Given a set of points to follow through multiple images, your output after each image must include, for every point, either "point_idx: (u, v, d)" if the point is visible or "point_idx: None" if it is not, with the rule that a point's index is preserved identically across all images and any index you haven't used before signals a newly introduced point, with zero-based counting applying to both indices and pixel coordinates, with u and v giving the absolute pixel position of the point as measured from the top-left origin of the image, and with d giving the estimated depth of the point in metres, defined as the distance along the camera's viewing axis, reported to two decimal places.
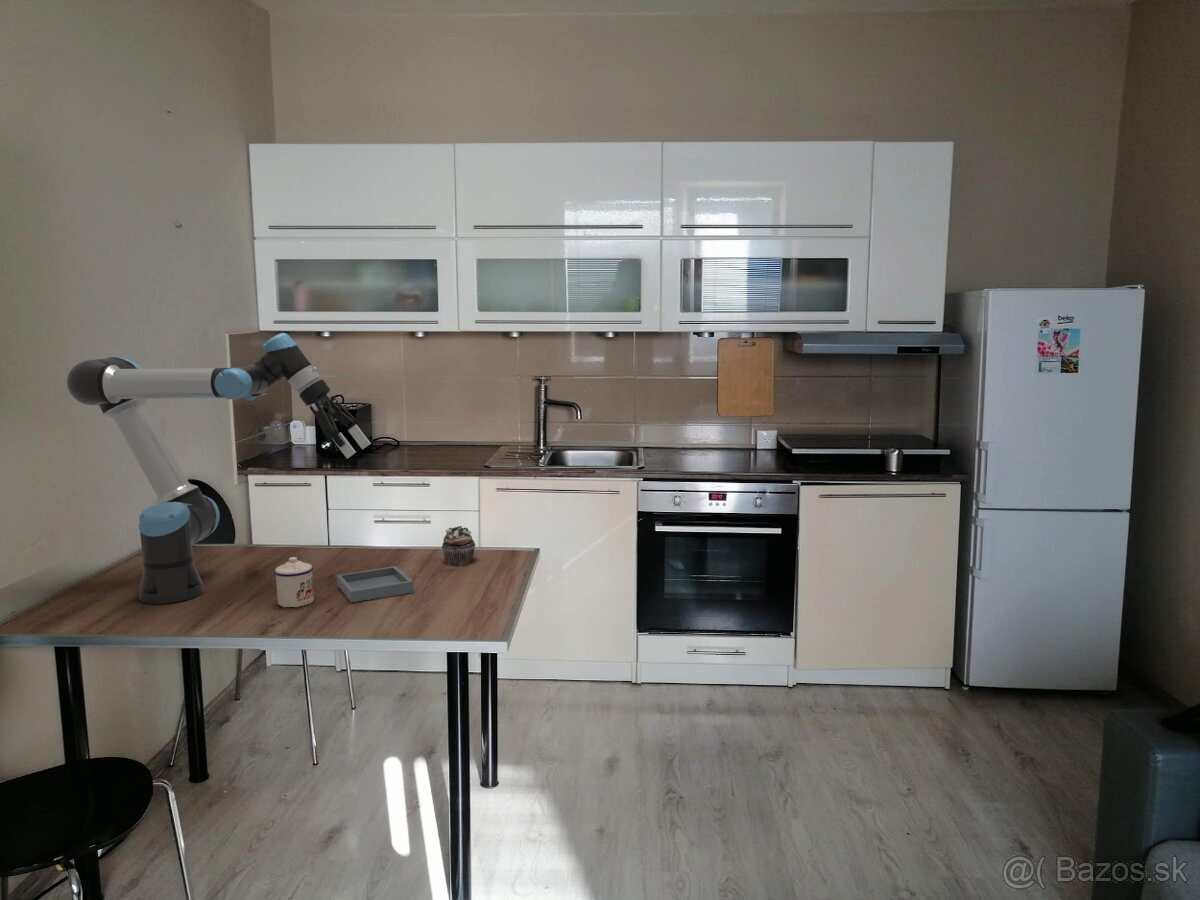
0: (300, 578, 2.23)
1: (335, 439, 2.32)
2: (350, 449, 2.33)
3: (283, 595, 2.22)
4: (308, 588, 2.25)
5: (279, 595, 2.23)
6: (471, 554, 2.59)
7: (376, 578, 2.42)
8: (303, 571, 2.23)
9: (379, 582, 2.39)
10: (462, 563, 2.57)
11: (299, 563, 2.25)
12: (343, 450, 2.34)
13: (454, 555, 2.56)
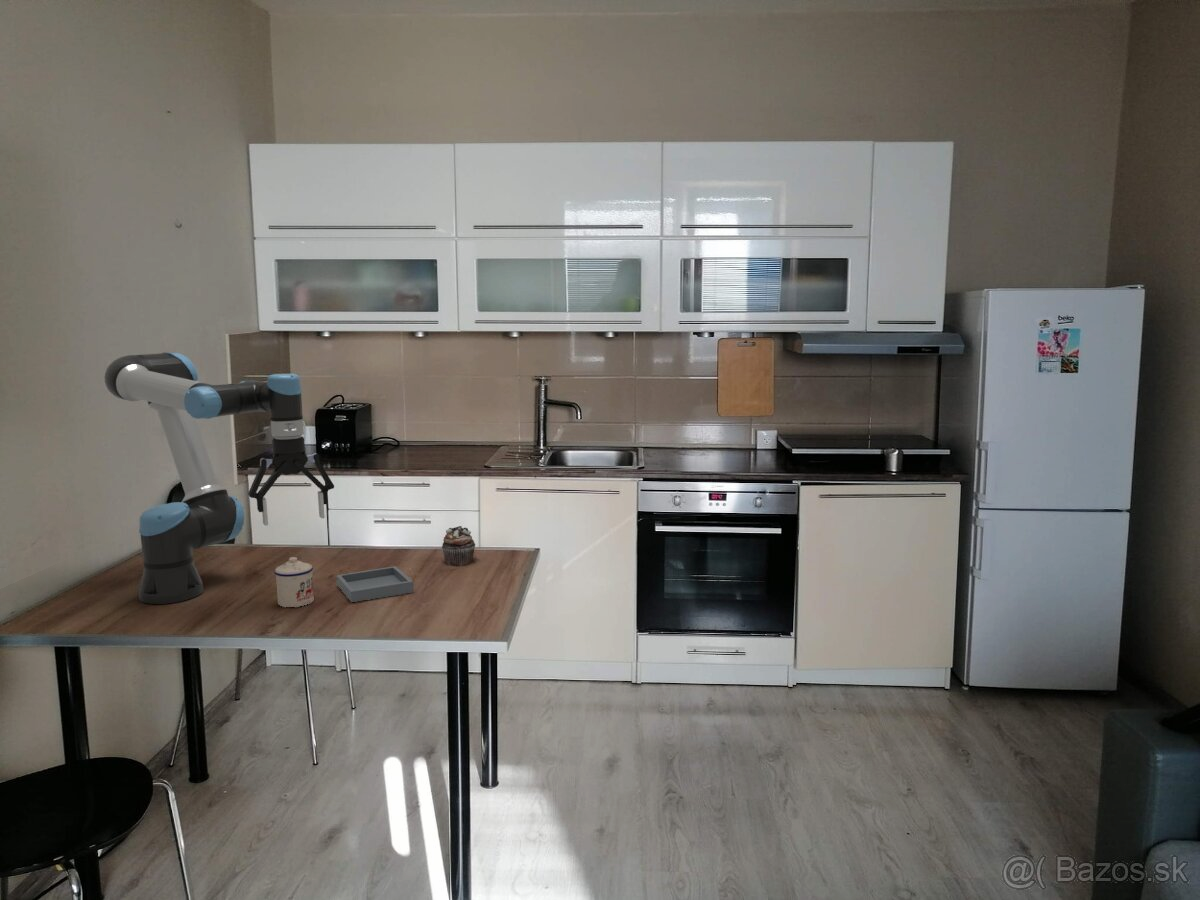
0: (300, 578, 2.23)
1: (257, 502, 2.21)
2: (264, 519, 2.21)
3: (283, 595, 2.22)
4: (308, 588, 2.25)
5: (279, 595, 2.23)
6: (471, 554, 2.59)
7: (376, 578, 2.42)
8: (303, 571, 2.23)
9: (379, 582, 2.39)
10: (462, 563, 2.57)
11: (299, 563, 2.25)
12: (262, 514, 2.22)
13: (454, 555, 2.56)
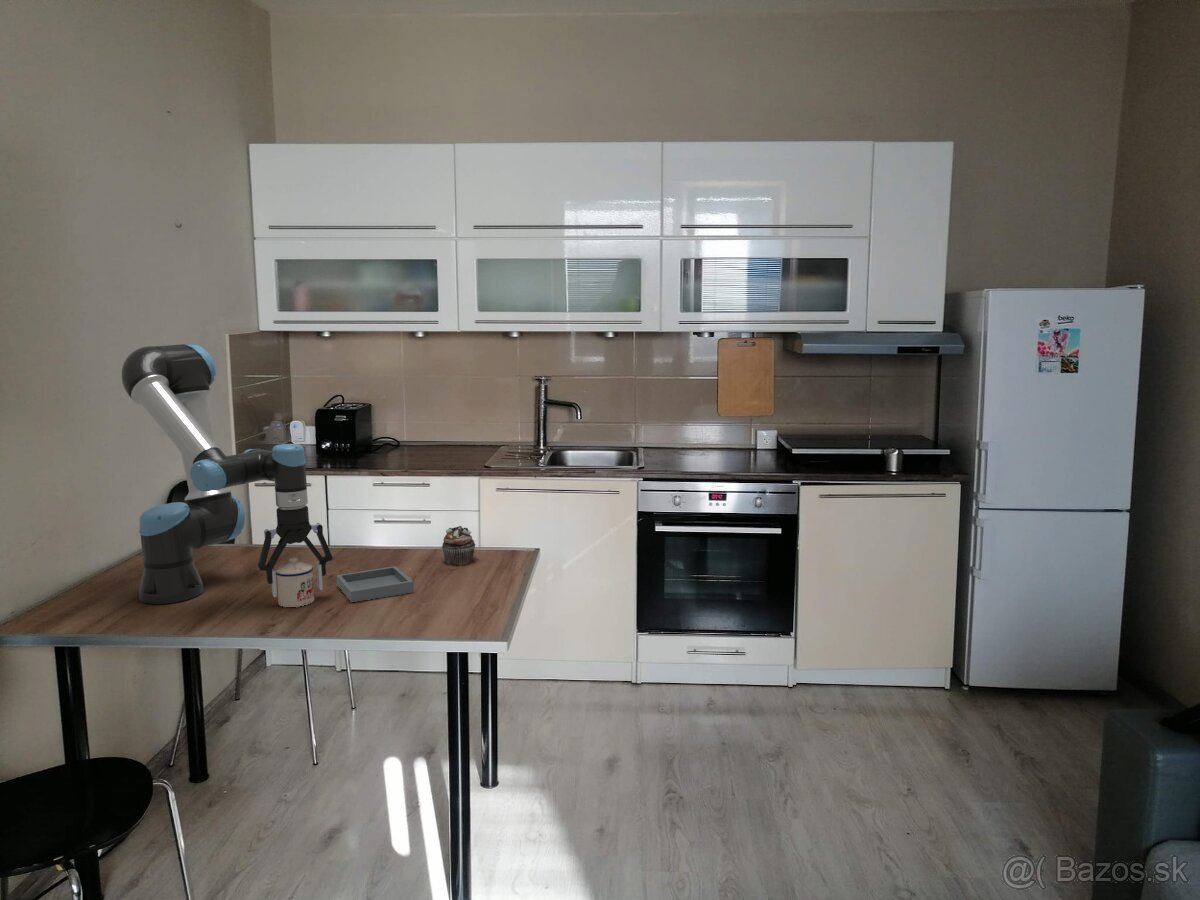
0: (300, 578, 2.23)
1: (266, 574, 2.24)
2: (273, 591, 2.24)
3: (284, 595, 2.22)
4: (308, 588, 2.25)
5: (279, 595, 2.23)
6: (471, 554, 2.59)
7: (376, 578, 2.42)
8: (304, 571, 2.23)
9: (379, 582, 2.39)
10: (462, 563, 2.57)
11: (300, 563, 2.25)
12: (272, 586, 2.25)
13: (454, 555, 2.56)
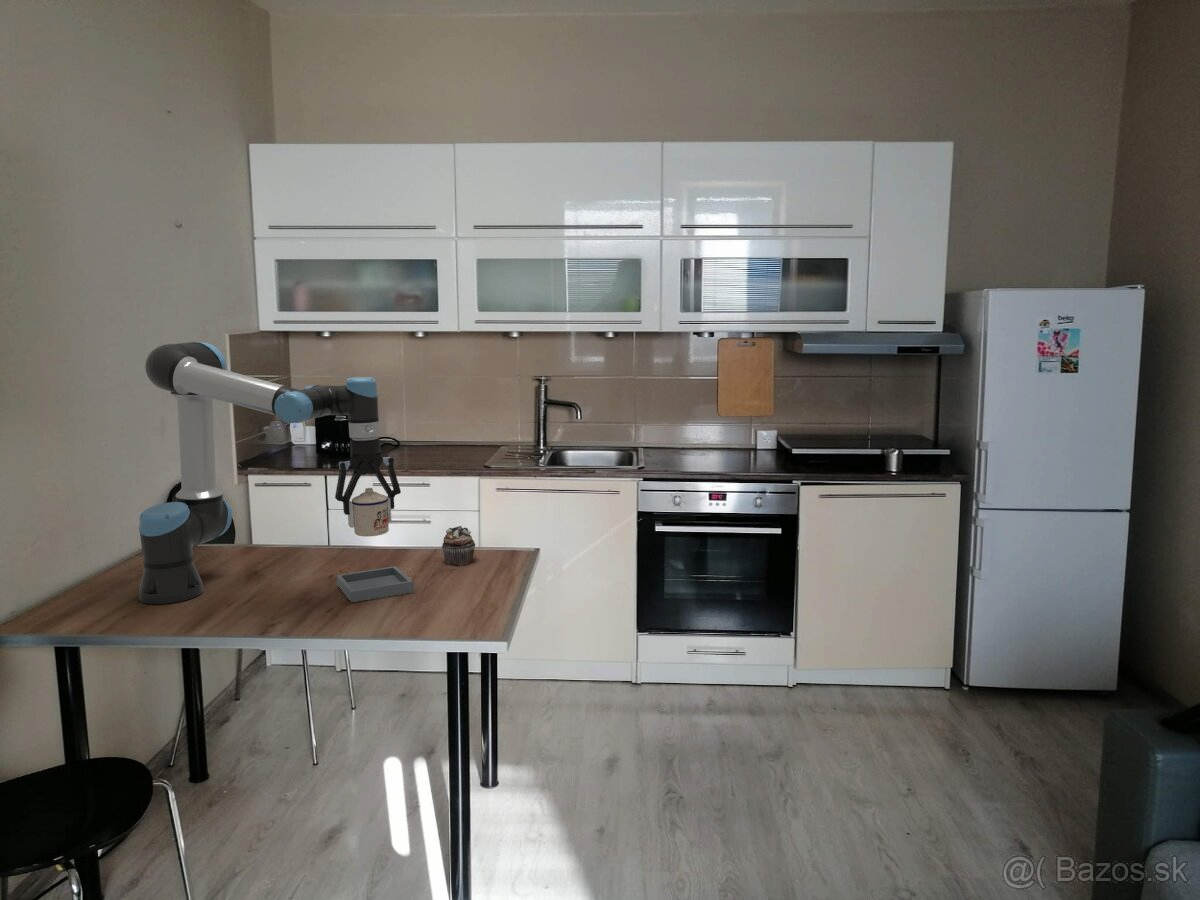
0: (377, 507, 2.28)
1: (343, 505, 2.30)
2: (350, 522, 2.30)
3: (361, 524, 2.28)
4: (384, 518, 2.30)
5: (356, 524, 2.29)
6: (471, 554, 2.59)
7: (376, 578, 2.42)
8: (380, 500, 2.29)
9: (379, 582, 2.39)
10: (462, 563, 2.57)
11: (375, 493, 2.30)
12: (348, 517, 2.31)
13: (454, 555, 2.56)
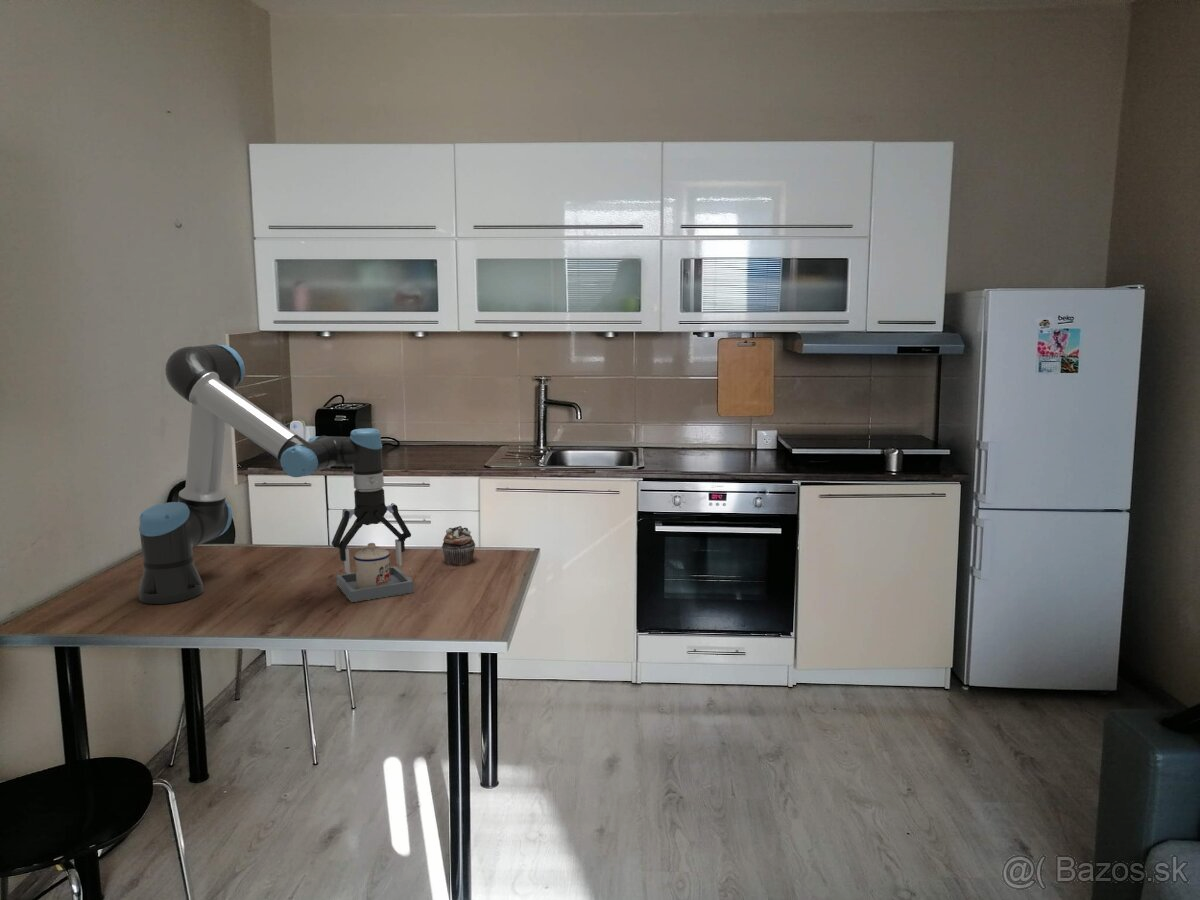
0: (379, 563, 2.31)
1: (340, 551, 2.31)
2: (346, 568, 2.31)
3: (363, 579, 2.31)
4: (386, 573, 2.33)
5: (359, 579, 2.32)
6: (471, 554, 2.59)
7: None
8: (382, 556, 2.31)
9: None
10: (462, 563, 2.57)
11: (377, 549, 2.33)
12: (344, 563, 2.32)
13: (454, 555, 2.56)
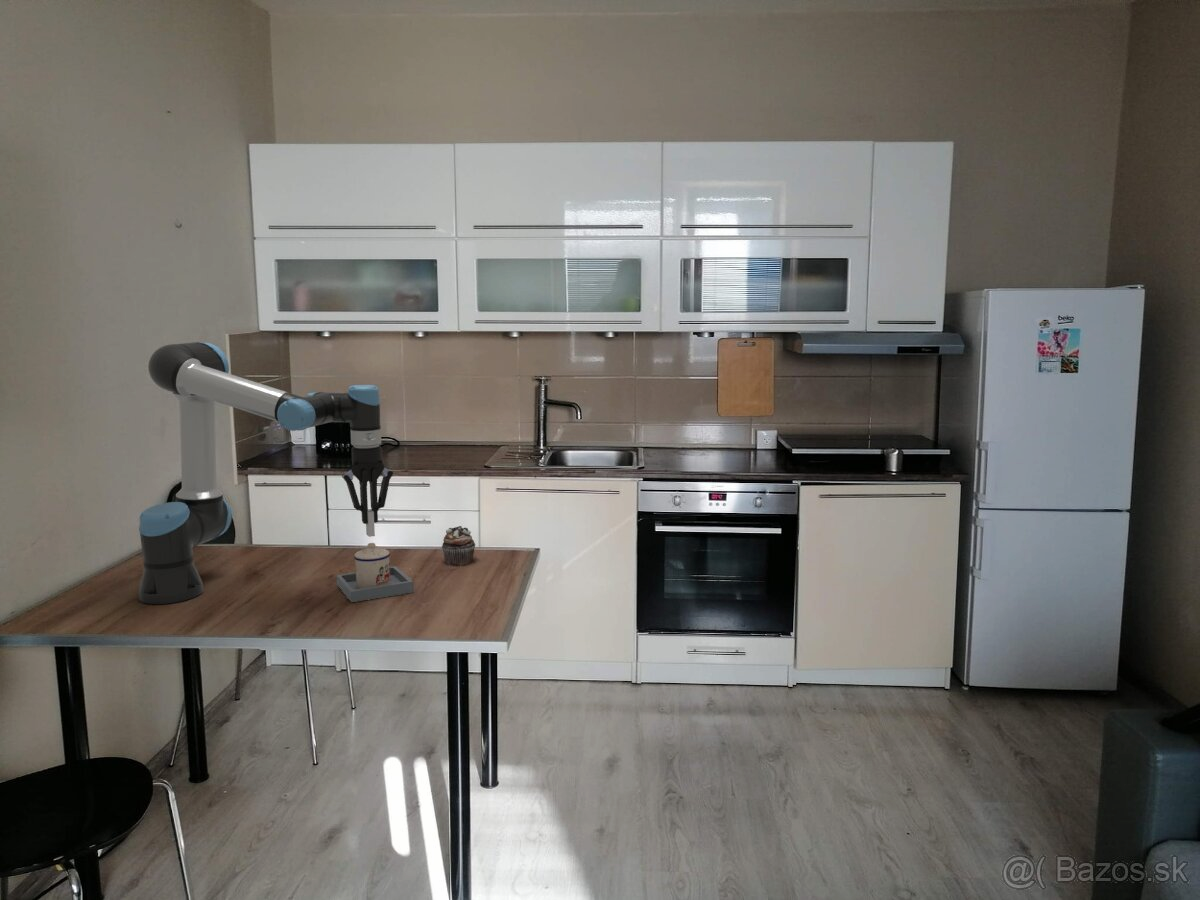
0: (379, 563, 2.31)
1: (362, 514, 2.32)
2: (368, 531, 2.33)
3: (363, 579, 2.31)
4: (386, 573, 2.33)
5: (359, 579, 2.32)
6: (471, 554, 2.59)
7: None
8: (382, 556, 2.31)
9: None
10: (462, 563, 2.57)
11: (377, 549, 2.33)
12: (366, 526, 2.34)
13: (454, 555, 2.56)
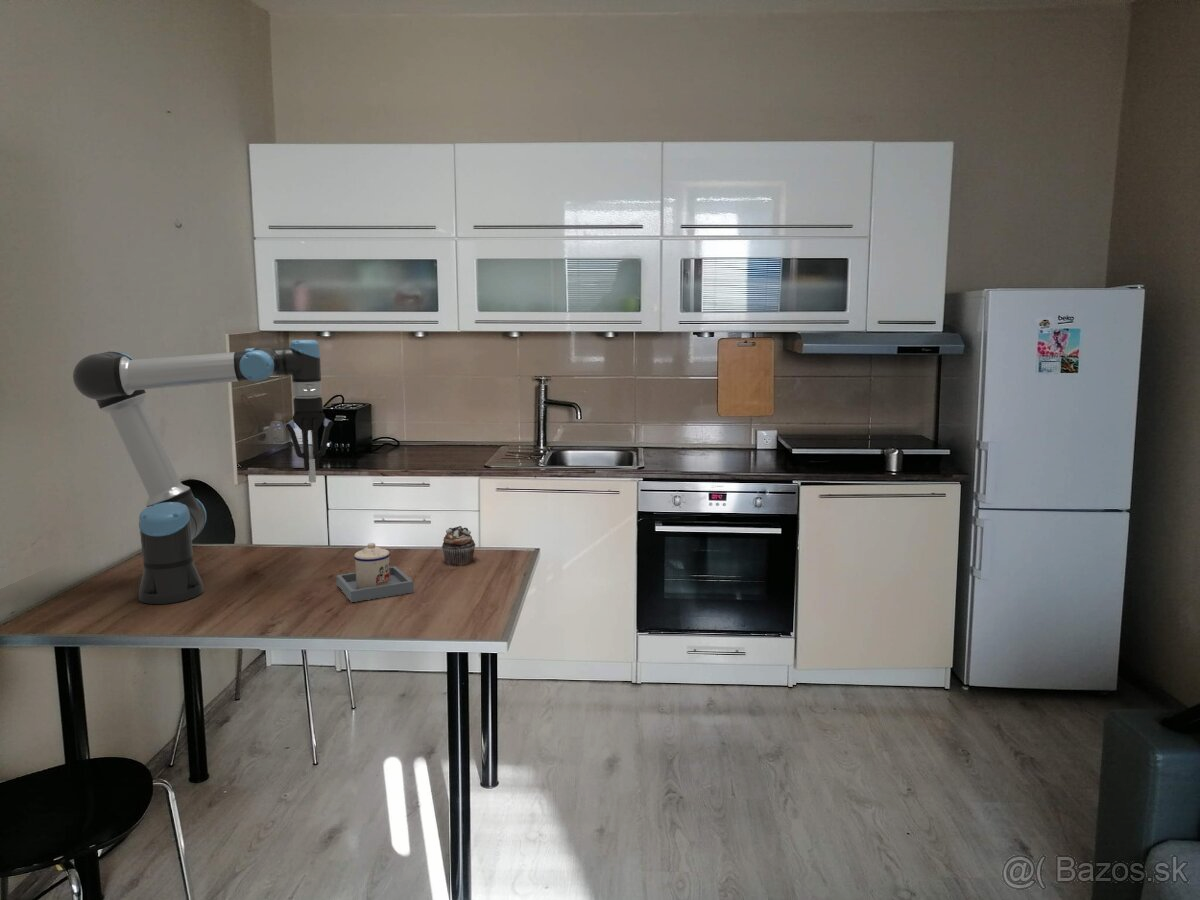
0: (379, 563, 2.31)
1: (304, 461, 2.48)
2: (309, 477, 2.48)
3: (363, 579, 2.31)
4: (386, 573, 2.33)
5: (359, 579, 2.32)
6: (471, 554, 2.59)
7: None
8: (382, 556, 2.31)
9: None
10: (462, 563, 2.57)
11: (377, 549, 2.33)
12: (308, 473, 2.49)
13: (454, 555, 2.56)
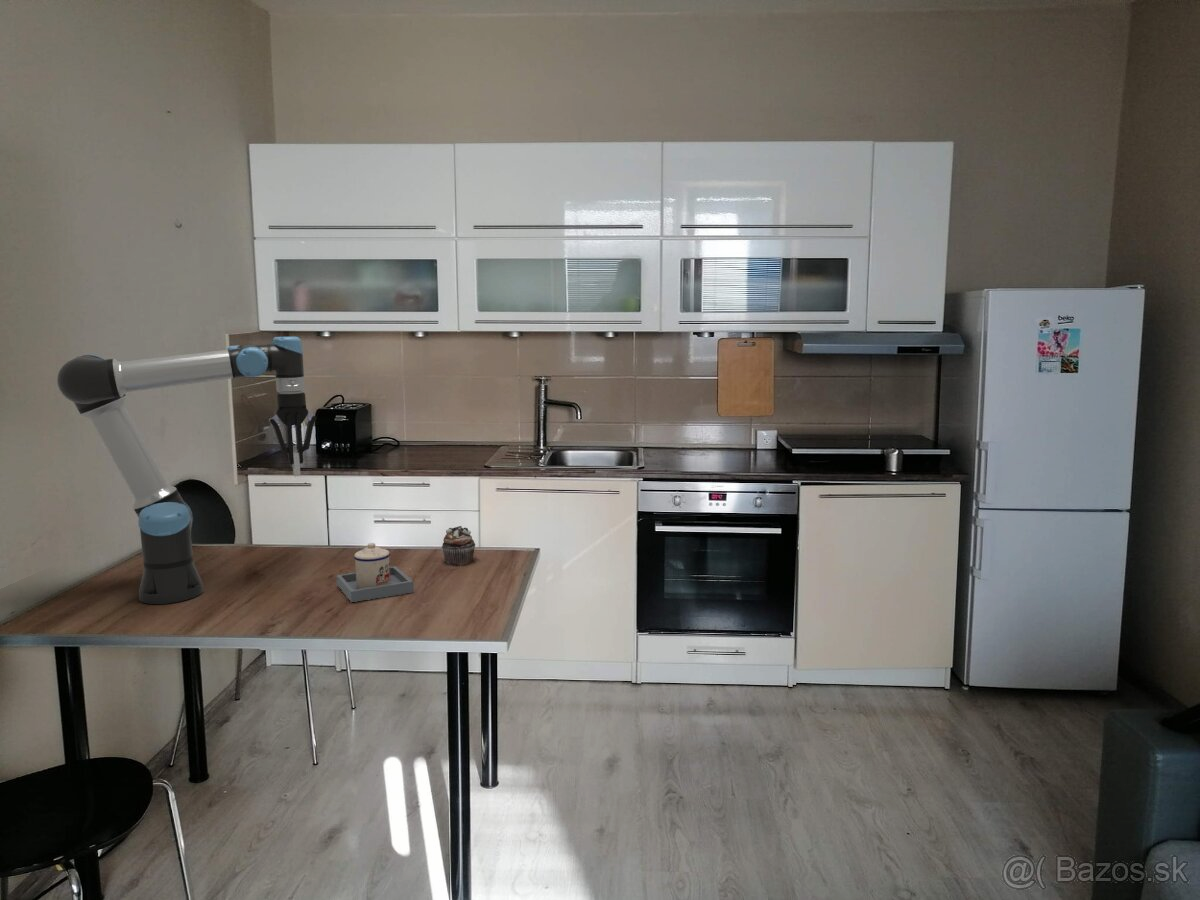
0: (379, 563, 2.31)
1: (288, 456, 2.53)
2: (294, 471, 2.54)
3: (363, 579, 2.31)
4: (386, 573, 2.33)
5: (359, 579, 2.32)
6: (471, 554, 2.59)
7: None
8: (382, 556, 2.31)
9: None
10: (462, 563, 2.57)
11: (377, 549, 2.33)
12: (293, 467, 2.55)
13: (454, 555, 2.56)
